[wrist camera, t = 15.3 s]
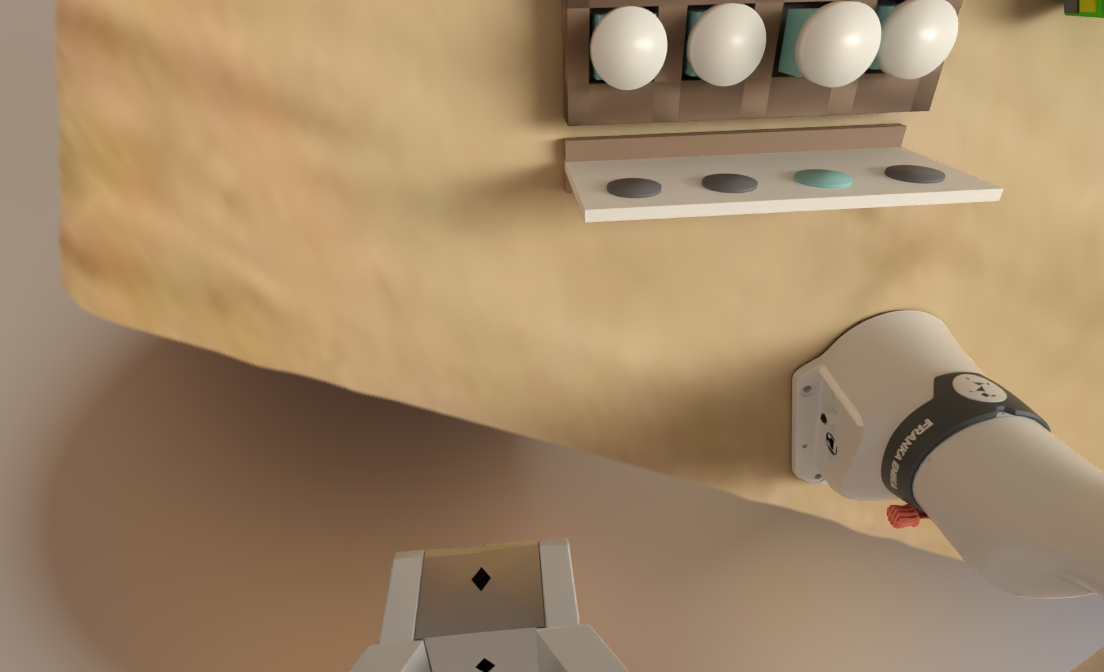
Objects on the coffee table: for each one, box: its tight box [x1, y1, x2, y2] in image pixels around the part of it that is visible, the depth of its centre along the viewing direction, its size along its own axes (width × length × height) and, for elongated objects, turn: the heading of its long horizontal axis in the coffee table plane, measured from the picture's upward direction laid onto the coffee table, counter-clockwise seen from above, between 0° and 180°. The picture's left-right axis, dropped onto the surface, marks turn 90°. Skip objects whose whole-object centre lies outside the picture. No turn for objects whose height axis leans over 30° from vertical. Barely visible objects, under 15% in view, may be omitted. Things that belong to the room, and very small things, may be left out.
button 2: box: [778, 1, 881, 87], centre depth 38 cm, size 5×5×4 cm
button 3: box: [682, 3, 766, 86], centre depth 39 cm, size 5×5×4 cm
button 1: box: [869, 0, 958, 79], centre depth 40 cm, size 5×5×4 cm
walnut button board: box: [563, 0, 962, 126], centre depth 41 cm, size 10×27×3 cm, turn 91°
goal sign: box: [564, 123, 1004, 222], centre depth 41 cm, size 4×27×12 cm, turn 91°
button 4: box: [590, 6, 667, 90], centre depth 39 cm, size 5×5×4 cm
